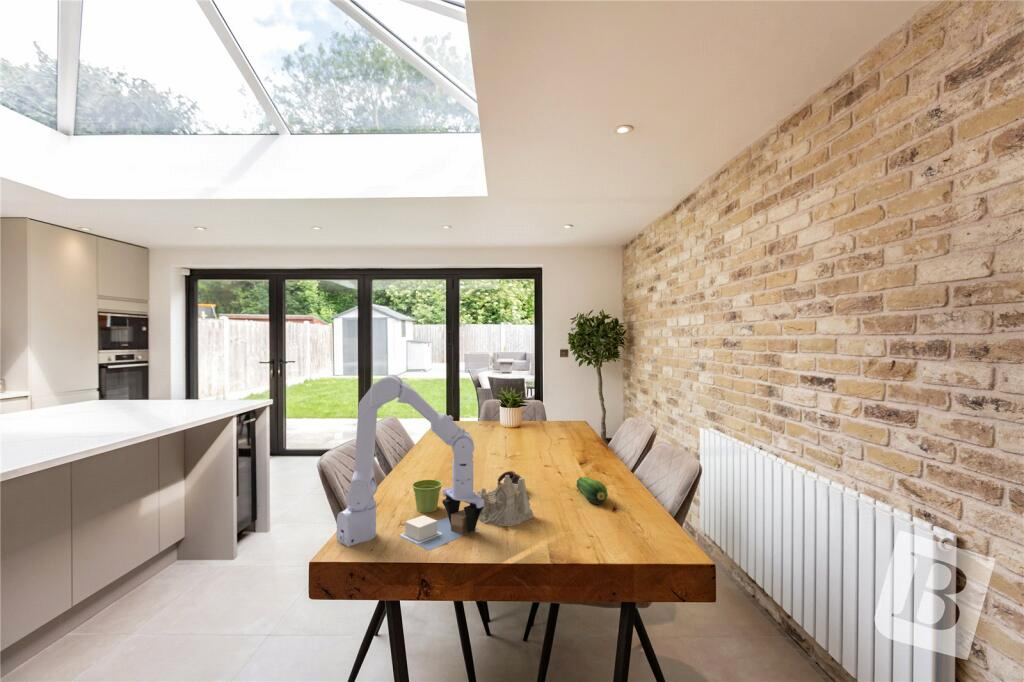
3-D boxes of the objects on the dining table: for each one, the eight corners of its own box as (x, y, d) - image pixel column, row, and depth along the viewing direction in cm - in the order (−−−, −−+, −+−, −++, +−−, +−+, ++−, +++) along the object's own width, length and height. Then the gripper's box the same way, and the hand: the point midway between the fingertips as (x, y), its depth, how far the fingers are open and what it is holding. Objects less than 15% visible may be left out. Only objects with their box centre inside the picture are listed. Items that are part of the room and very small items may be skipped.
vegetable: (595, 481, 140) (576, 465, 160) (585, 501, 139) (568, 483, 159) (614, 490, 141) (593, 473, 161) (605, 511, 140) (585, 491, 160)
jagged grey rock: (541, 518, 130) (538, 468, 130) (499, 536, 119) (495, 481, 120) (507, 508, 142) (504, 461, 142) (466, 523, 131) (463, 472, 131)
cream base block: (419, 541, 113) (419, 527, 113) (405, 534, 116) (405, 521, 117) (437, 533, 117) (437, 520, 117) (423, 527, 121) (423, 515, 121)
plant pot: (447, 508, 139) (447, 480, 139) (434, 519, 130) (434, 489, 130) (420, 505, 142) (420, 478, 142) (406, 515, 132) (406, 487, 133)
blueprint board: (429, 554, 107) (429, 549, 107) (398, 539, 116) (398, 535, 116) (478, 532, 120) (478, 528, 120) (447, 520, 129) (447, 516, 129)
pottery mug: (529, 496, 151) (519, 478, 149) (505, 508, 151) (494, 490, 149) (524, 478, 163) (515, 460, 161) (502, 489, 163) (492, 471, 161)
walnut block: (462, 535, 116) (462, 518, 116) (450, 530, 119) (451, 514, 119) (474, 530, 120) (474, 513, 120) (463, 525, 123) (463, 509, 123)
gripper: (492, 479, 118) (492, 530, 118) (456, 470, 127) (455, 516, 127) (473, 485, 113) (473, 539, 112) (437, 475, 122) (436, 524, 122)
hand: (462, 527), depth 119 cm, fingers open, 6 cm apart
